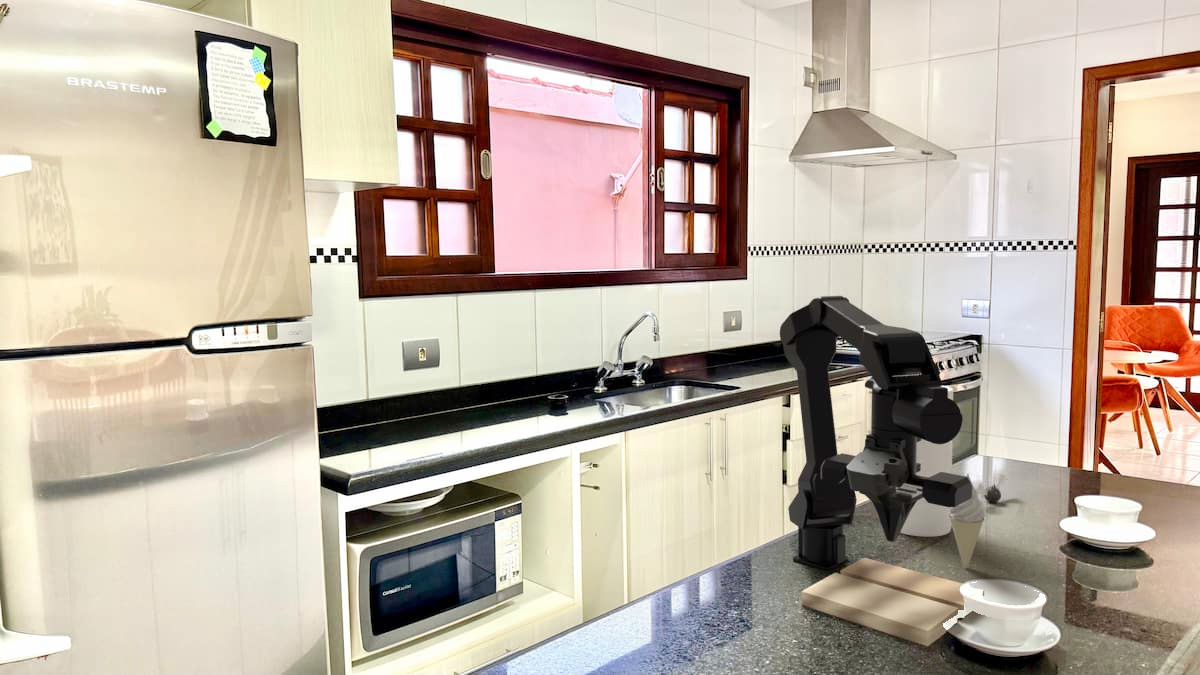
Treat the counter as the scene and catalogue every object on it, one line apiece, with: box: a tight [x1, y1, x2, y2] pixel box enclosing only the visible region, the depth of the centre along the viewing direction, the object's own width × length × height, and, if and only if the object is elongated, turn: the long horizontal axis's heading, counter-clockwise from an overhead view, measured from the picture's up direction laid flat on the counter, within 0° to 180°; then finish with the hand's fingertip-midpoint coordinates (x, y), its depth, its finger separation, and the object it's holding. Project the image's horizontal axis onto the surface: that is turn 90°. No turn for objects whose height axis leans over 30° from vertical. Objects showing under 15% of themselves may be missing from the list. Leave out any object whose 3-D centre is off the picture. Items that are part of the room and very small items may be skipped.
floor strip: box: [840, 557, 964, 610], centre depth 118 cm, size 18×8×2 cm, turn 44°
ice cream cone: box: [949, 473, 986, 569], centre depth 126 cm, size 5×5×15 cm
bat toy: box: [975, 474, 1009, 504], centre depth 159 cm, size 3×15×5 cm, turn 130°
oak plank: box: [801, 572, 959, 647], centre depth 111 cm, size 18×9×2 cm, turn 44°
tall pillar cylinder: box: [900, 384, 954, 538], centre depth 145 cm, size 11×11×25 cm
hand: (891, 540), depth 110 cm, fingers closed
